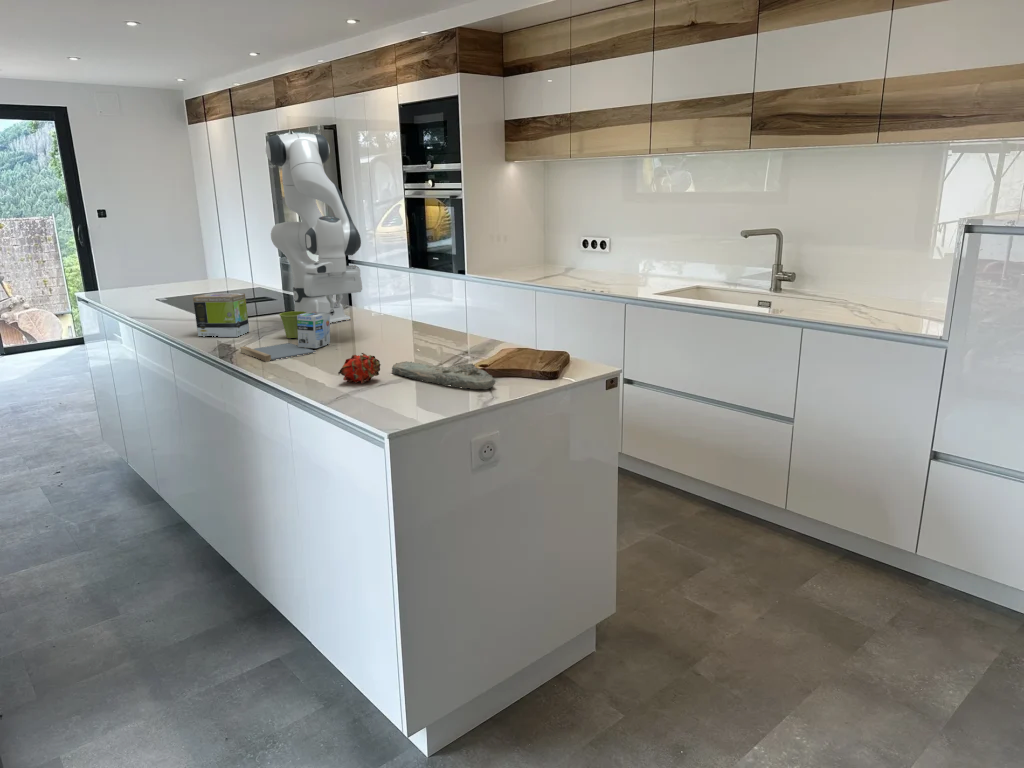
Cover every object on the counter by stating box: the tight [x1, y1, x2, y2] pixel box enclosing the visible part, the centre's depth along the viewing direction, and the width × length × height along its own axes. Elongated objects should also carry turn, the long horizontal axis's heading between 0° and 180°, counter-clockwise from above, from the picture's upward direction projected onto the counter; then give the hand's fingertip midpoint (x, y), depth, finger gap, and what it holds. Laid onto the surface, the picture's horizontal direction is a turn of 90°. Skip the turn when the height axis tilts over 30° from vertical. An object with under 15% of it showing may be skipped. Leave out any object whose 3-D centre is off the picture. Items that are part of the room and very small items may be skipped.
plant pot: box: [278, 310, 307, 339], centre depth 246 cm, size 9×9×9 cm
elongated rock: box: [391, 361, 496, 390], centre depth 189 cm, size 35×5×10 cm
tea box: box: [192, 292, 250, 338], centre depth 250 cm, size 15×10×15 cm, turn 84°
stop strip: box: [240, 346, 271, 362], centre depth 218 cm, size 2×18×2 cm, turn 45°
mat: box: [253, 342, 317, 361], centre depth 224 cm, size 15×18×1 cm
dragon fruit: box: [337, 352, 382, 385], centre depth 188 cm, size 8×8×12 cm
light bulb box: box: [297, 312, 331, 349], centre depth 231 cm, size 11×7×11 cm, turn 168°
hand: (335, 307), depth 234 cm, fingers closed
